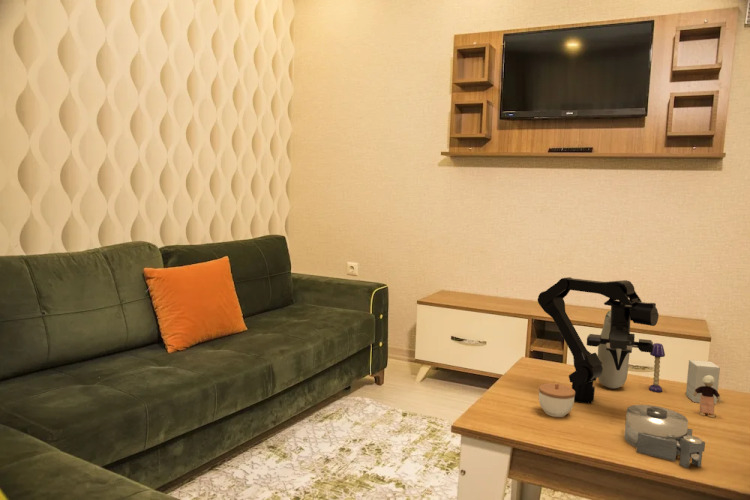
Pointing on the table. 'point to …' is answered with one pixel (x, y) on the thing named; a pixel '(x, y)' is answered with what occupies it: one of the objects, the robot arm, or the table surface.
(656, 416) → the cover
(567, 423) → the table surface
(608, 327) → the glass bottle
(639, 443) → the centering jig
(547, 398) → the lidded jar
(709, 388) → the grandmother figurine
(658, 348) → the toy lamp
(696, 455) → the dial plunger
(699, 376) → the supplement box
